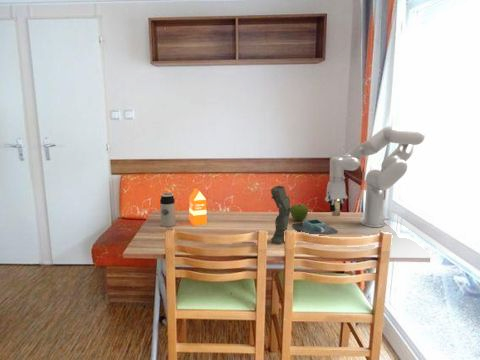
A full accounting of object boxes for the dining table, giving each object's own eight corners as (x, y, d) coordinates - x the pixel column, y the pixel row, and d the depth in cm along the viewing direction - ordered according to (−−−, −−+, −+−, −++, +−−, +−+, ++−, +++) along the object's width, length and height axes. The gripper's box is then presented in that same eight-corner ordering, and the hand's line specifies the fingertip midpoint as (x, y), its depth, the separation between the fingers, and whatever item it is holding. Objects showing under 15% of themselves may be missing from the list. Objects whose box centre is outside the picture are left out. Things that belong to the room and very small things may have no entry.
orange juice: (193, 225, 204) (193, 191, 200) (189, 221, 212) (188, 188, 208) (206, 224, 208) (206, 190, 204) (202, 219, 215) (201, 187, 212)
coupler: (336, 213, 209) (337, 196, 207) (342, 215, 204) (342, 198, 202) (330, 214, 207) (330, 197, 205) (335, 217, 203) (335, 199, 201)
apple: (305, 217, 220) (306, 201, 218) (309, 222, 210) (310, 206, 208) (288, 217, 220) (288, 201, 218) (291, 223, 210) (291, 206, 208)
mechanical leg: (284, 232, 191) (278, 180, 180) (296, 235, 186) (290, 182, 175) (270, 245, 181) (262, 191, 170) (282, 249, 177) (275, 194, 166)
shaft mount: (319, 223, 209) (320, 215, 209) (337, 233, 193) (338, 225, 192) (291, 226, 204) (292, 218, 203) (307, 236, 187) (307, 228, 186)
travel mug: (167, 222, 211) (165, 192, 207) (178, 224, 207) (177, 193, 204) (158, 226, 204) (156, 195, 200) (169, 228, 200) (168, 196, 197)
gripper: (345, 176, 208) (344, 207, 211) (319, 179, 202) (319, 210, 206) (353, 178, 201) (352, 210, 204) (327, 181, 195) (326, 214, 199)
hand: (336, 210), depth 205 cm, fingers closed on coupler, 4 cm apart
